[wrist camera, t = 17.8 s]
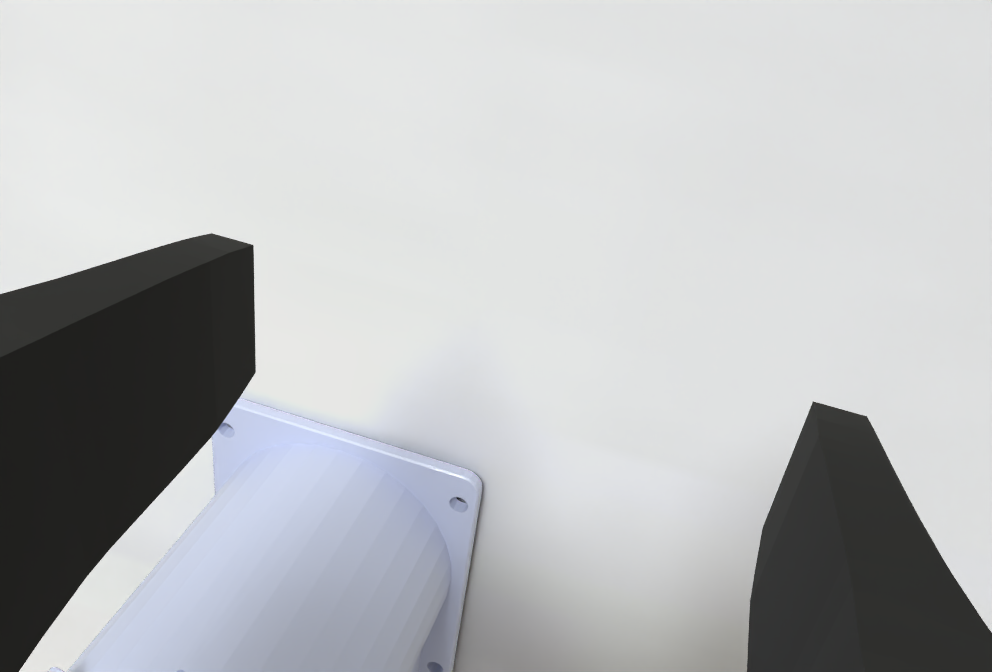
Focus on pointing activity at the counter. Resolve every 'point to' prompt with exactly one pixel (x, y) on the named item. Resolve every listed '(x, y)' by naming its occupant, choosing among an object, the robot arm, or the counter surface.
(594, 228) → the counter surface
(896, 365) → the counter surface
